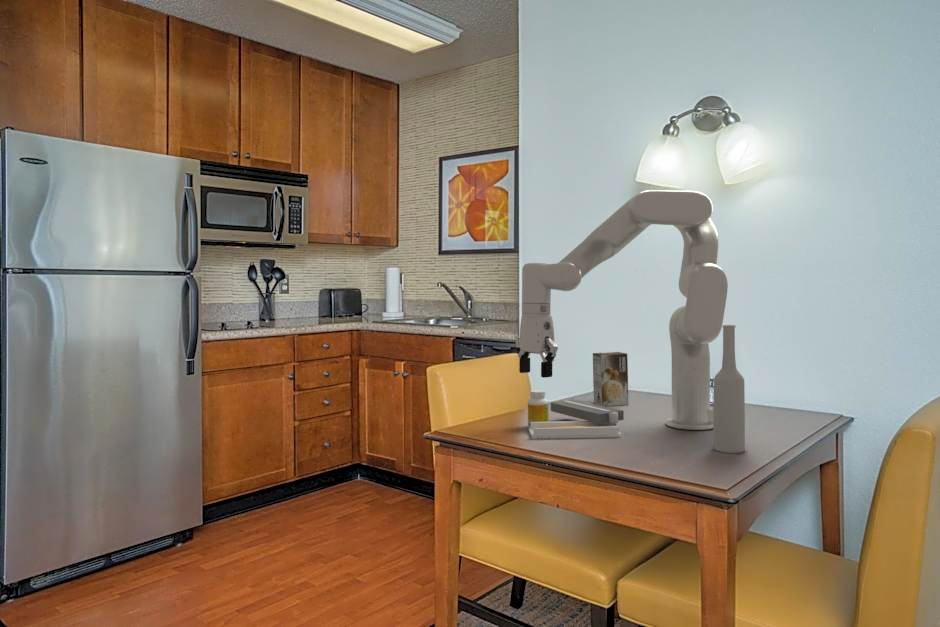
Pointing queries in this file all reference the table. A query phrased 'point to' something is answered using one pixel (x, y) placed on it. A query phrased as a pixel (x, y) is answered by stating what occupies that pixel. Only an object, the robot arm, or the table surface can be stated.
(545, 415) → the supplement bottle
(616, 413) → the block
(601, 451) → the table surface
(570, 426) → the duct base
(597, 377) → the coffee box
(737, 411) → the bottle
